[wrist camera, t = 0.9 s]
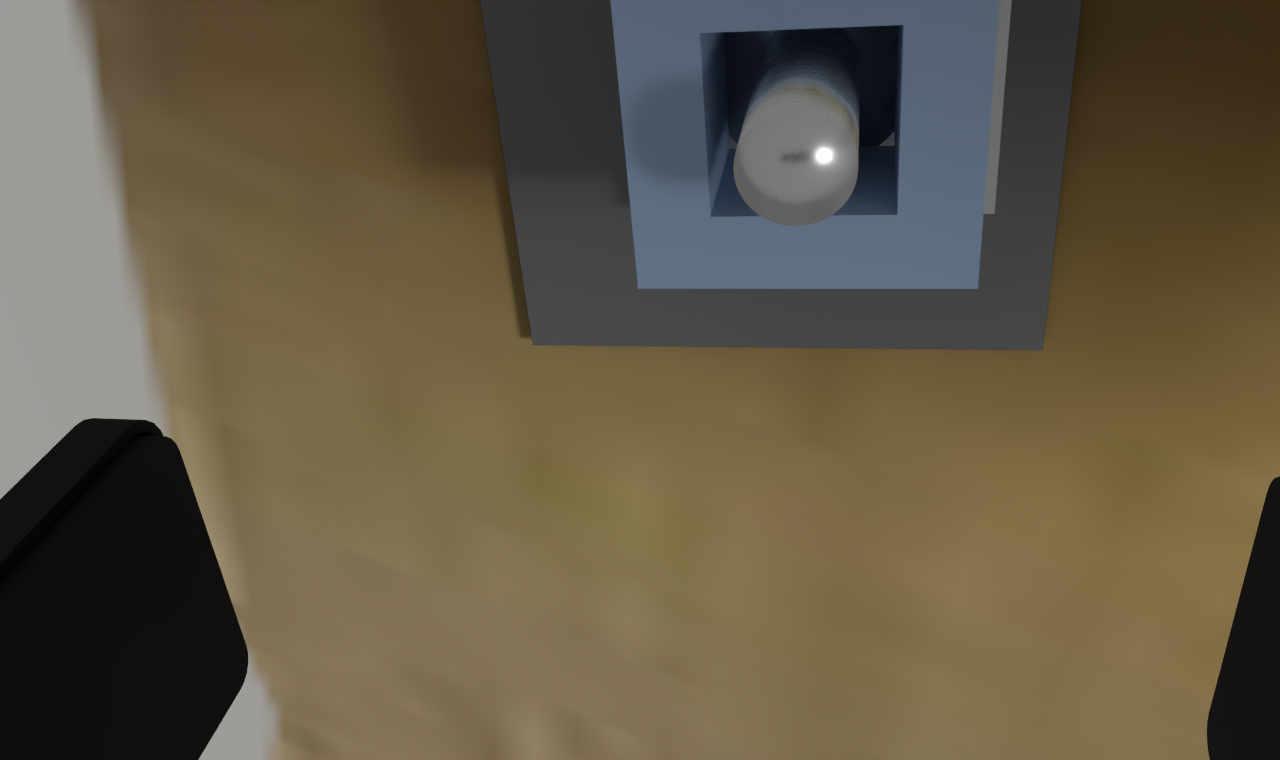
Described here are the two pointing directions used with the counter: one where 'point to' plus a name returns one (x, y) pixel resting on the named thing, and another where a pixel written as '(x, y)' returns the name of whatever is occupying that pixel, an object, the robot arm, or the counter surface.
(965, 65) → the square hole block
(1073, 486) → the counter surface
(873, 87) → the stand
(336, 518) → the counter surface
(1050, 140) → the bench mat
